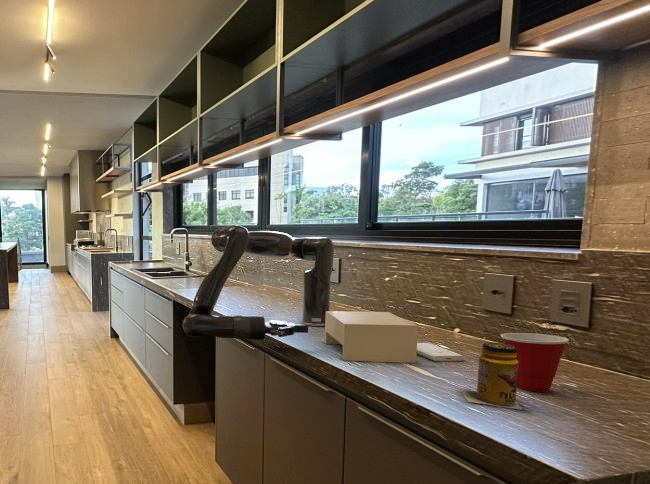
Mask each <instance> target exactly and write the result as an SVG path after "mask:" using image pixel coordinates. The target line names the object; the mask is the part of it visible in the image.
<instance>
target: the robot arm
mask: <svg viewBox="0 0 650 484" xmlns="http://www.w3.org/2000/svg"><path fill="white" fill-rule="evenodd" d="M210 241H211V242H210V243H211V245H212V247H213V248H214V250H216V251H217V252H218V253H221V254H222V255H221V257H220V258H219V260H218V262H217V263H216V264H215V265H214V266H213V268H212V269H211V270H210V271H209V272H208V273H207V274H206V275H205V277H204V278H203V280H202V281H201V283H200V284H199V286H198V288H197V291H196V294H195V296H194V298H193V302H192V306H191V308H190V309H189V310H190V311H189V313H188V315H186V316H185V317H184V319H183V321H182V329H183V331H184V334H185V335H186V336H188V337H189V338H191V339H198V338H200V337H215V338H218V339H219V338H220V339H237V340H248V341H250V340H252V341H263V340H265V338H266V335H270V336H272V337H274V336H275V337H276V336H277V337H279V338H283V337H288V336H289V337H290V336H294V335H295V334H296V333H297V334H308V333H309V326H310V327H325V317H326V311H330V306H331V305H330V303H331V276H332V273H333V267H334V257H335V245H334V242H333V240H332V239H331V238H329V237H325V236H324V237H323V236H322V237H320V236H317V237H315V236H309V237H292V236H291V235H289V234H288V233H284V232H279V231H270V230H260V231H259V230H257V231H248V229H247V228H246V227H245V226H243V225H236V224H235V225H234V224H233V225H223V226H220V227H218V228H216V229H215V230H214V231H213V233H212V234H211V237H210ZM244 254H249V255H253V256H259V257H265V258H271V259H287V258H293V259H294V258H295V259H299V260H303V261H306V262H314V266H313V267H312V268H311V269H309V270H305V271H304V272H303V274H302V278H303V279H302V280H303V281H302V320H301V323H302V324H301V323H300V324H298V323H297V324H295V323H293V322H290V321H284V320H278V319H270V320H269V321H266V319H265V316H264V315H260V314H257V315H255V314H253V315H251V314H237V315H214V314H213V315H212V313H213V311H214V309H215V307H216V305H217V303H218V301H219V298H220V295H221V294H222V291H223V289H224V287H225V285H226V283H227V281H228V280H229V278H230V276H231V274H232V273H233V271H234V269H235V268H236V266H238V263H239V261H240V260H241V258H242V257H243V256H244Z"/></svg>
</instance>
